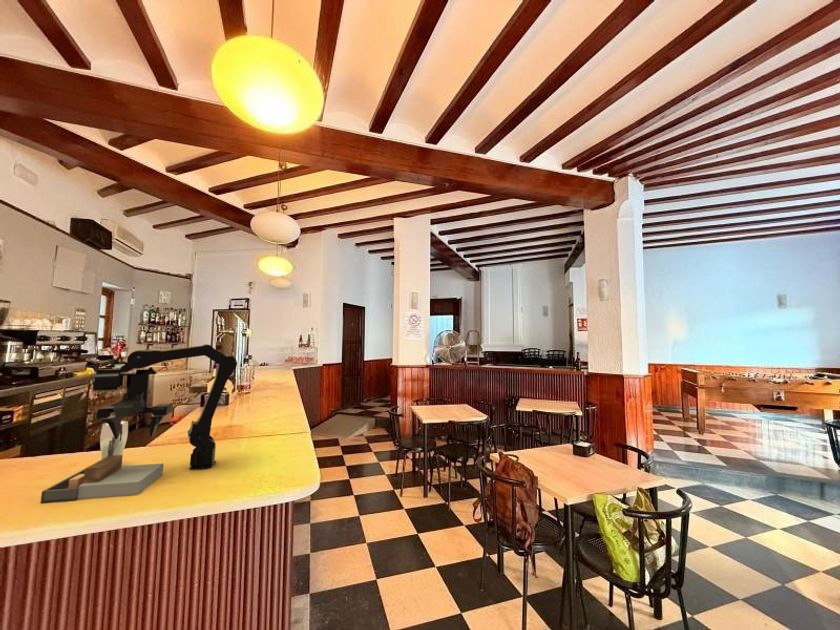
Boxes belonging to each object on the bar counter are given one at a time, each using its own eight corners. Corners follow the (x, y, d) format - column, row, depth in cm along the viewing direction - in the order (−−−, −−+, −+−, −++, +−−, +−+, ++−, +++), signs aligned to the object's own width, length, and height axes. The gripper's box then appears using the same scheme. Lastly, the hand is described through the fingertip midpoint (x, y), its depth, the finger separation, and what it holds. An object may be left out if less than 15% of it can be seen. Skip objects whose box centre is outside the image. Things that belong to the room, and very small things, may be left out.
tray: (112, 476, 106) (113, 467, 106) (75, 500, 91) (77, 488, 91) (83, 478, 104) (84, 469, 104) (40, 503, 89) (41, 491, 89)
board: (162, 474, 109) (163, 463, 110) (137, 494, 95) (139, 481, 95) (111, 477, 106) (112, 466, 106) (77, 499, 91) (78, 486, 92)
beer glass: (107, 472, 109) (112, 426, 111) (91, 470, 111) (96, 424, 112) (129, 465, 116) (134, 421, 117) (114, 463, 118) (118, 420, 119)
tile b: (88, 473, 97) (79, 474, 97) (78, 479, 93) (69, 479, 93) (86, 487, 97) (77, 488, 96) (76, 493, 93) (67, 494, 93)
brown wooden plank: (121, 467, 105) (122, 454, 105) (98, 482, 94) (99, 467, 95) (107, 468, 104) (109, 455, 104) (83, 483, 93) (84, 468, 94)
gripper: (85, 394, 97) (80, 448, 96) (160, 391, 103) (157, 443, 102) (108, 388, 108) (104, 437, 107) (175, 386, 114) (172, 433, 112)
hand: (134, 437), depth 107 cm, fingers open, 9 cm apart
